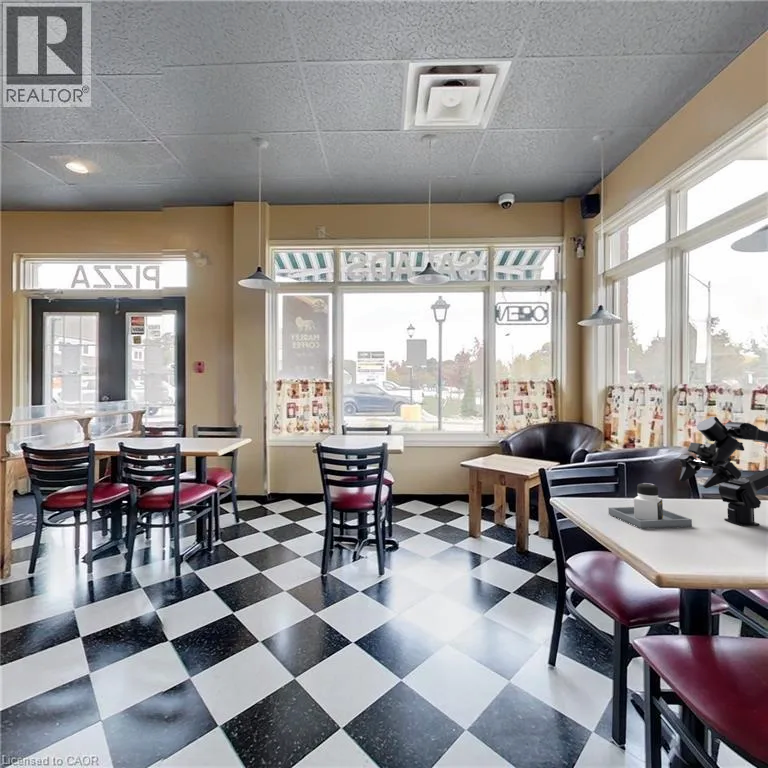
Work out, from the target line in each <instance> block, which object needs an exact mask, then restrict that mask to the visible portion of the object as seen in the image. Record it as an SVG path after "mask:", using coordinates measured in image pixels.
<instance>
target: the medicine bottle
mask: <svg viewBox="0 0 768 768" xmlns="http://www.w3.org/2000/svg"><path fill="white" fill-rule="evenodd" d="M636 487H637V488H636V489H637V490H636V491H637V496H635V497H634V498H633V507H634V518H636V519H640V520H662V519H663V508H664V507H663V498H662V497H659V487H658V485H656V484H653V483H647V482H643V483H638V484H637V485H636Z"/></svg>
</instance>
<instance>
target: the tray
mask: <svg viewBox="0 0 768 768" xmlns="http://www.w3.org/2000/svg"><path fill="white" fill-rule="evenodd" d="M609 514H610V516H611V515H612V517H613V516H614V517H613V518H615V517H617V518H616V519H618V518H619V519H618V520H620V519H621V521H622V520H623V521H622V522H624V521H626V522H628V523H627V524H629V523H630V524H629V525H631V524H632V525H631V526H633V525H635V526H637V527H639V528H638V529H640V528H655V529H674V528H675V529H677V527H680V528H692V527H693V522H692V521H693V520H692V519H691V518H688V517H686V516H683V515H681V514H678V513H675V512H672V511H669V510H666V509H663V519H662V520H640V519H636V518H634V506H619V507H608V515H609ZM626 522H625V523H626ZM635 526H634V527H635ZM637 527H636V528H637Z"/></svg>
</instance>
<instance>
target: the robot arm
mask: <svg viewBox="0 0 768 768" xmlns="http://www.w3.org/2000/svg"><path fill="white" fill-rule="evenodd" d="M696 429H697V430H698V431H699V432H700V433H701V434H702V436H704V438H706V439H707V440H708V441H709V442H713V443H709V442H708V443H706V444H704V443H699V442H690V445H689V447H688V449H687V451H688V453H692V454H695V457H696V458H697V459H699V460H697V459H696V458H695V457H694V456H693V455H691V454H680V455H679V456H678V457H677V460H678V461H679V463H680V464H681V465H682V468H681V469H682V470H681V472H680V476H679V482H680V483H683V482H684V483H685V482H686V481H687V480H689V479H690V478H692V477H693V476H695V475H696V474H698V471H700V469H702V468H704V469H708V470H712V472H711V474H710V475H709V477H708V478H707V479H706V480H705V482H704V483H703V485H702V486H703V488H704V489H709V488H711V487H714V486H716V485H719V486H718V493H719V495H720V498H721V501H722V502H724V503H727V518H725V517H724V521H726V522H730V523H732V524H736V525H738V524H739V526H741V525H743V527H744V525H751V526H760V523H759V522H756V521H755V509H757V508H758V509H759V508H760V507H761V505H762V501H761V500H760V499H759V498H758V497H757V492H758V491H761V490H763V489H765V488H767V487H768V468H766V469H763V470H761V471H759V472H756V473H754V474H752V475H749V476H748V477H745V478H744V477H742V472H741V470H740V469H739V468H738V467H737V466H736V465H735V463H733V462H731V461H732V459H731V456H732V455H733V454H734V453H735V451H742V452H743V451H745V447H744V445H743V444H744V443H743V442H740V441H739V440H746V441H747V440H748V441H755V442H760V443H762V444H767V445H768V431H767V430H762V429H760V428H758V426H756V425H754V424H752V423H749V422H738V421H727V422H726V423H725V424H723V423H722V422H721V421H720V419H719V418H718V417H717V416H709V418H707V419H704V420H701V421H700V422H698V424H697V425H696Z"/></svg>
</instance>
